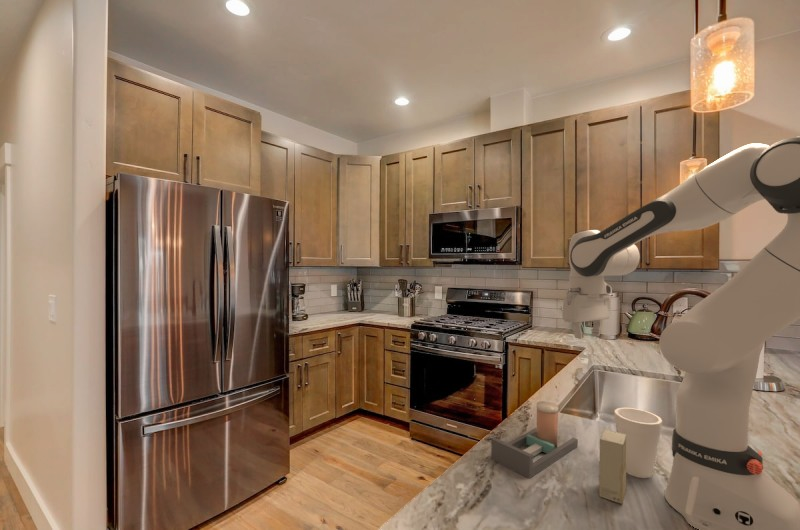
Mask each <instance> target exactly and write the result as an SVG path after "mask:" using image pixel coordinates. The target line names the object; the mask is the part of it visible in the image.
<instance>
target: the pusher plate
mask: <svg viewBox="0 0 800 530" xmlns="http://www.w3.org/2000/svg"><path fill="white" fill-rule="evenodd" d="M525 446H528V447H526V448H525V449H522V450H523V451H525V452H527V453H530V454H532V455H533V457H535V456H536V455H538V454H540V453H545V454H548V453H549V452H551V451H552V450H554V449H555V445H554V444H551V443H549V442H547V441H544V440H542V439H539V438H537V437H535V436H532V435H530V434H528V435H526V445H525Z"/></svg>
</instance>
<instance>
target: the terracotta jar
mask: <svg viewBox="0 0 800 530" xmlns="http://www.w3.org/2000/svg"><path fill="white" fill-rule="evenodd" d="M559 410H560V409H559V405H558V404H556V403H553V402H550V401H545V400H544V401H543V400H542V401H538V402H536V427H535V428H536V437H537V438H539V439H542V440H544V441H547V442H549V443H551V444H554V445H555V449H556V448H557V447H558V436H559V435H558V433H559V432H558V431H559V430H558V428H559Z"/></svg>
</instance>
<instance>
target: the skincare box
mask: <svg viewBox="0 0 800 530" xmlns="http://www.w3.org/2000/svg"><path fill="white" fill-rule="evenodd" d="M598 476H599V479H598V480H599V482H598V483H599V487H598V488H599V493H598V494H599V497H600V498H603V499H606V500H609V501H612V502H614V503H618V504H621V505H623V503H624V499H625V496H626V492H627V473H626V434H622V433H618V432H617V431H614V430H609V429H604V428H603V431H602V432H601V435H600V438H599V475H598Z"/></svg>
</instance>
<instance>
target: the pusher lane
mask: <svg viewBox="0 0 800 530" xmlns="http://www.w3.org/2000/svg"><path fill="white" fill-rule="evenodd" d="M528 434H530V435H532V436H535V437H536V427H535V428H533V429H531V430H530V431H528V432H526V433H523V434H521V435H519V436H517V437H516V438H514V439H512V440H510V441H508V442H505V441H503V440H501V439H499V438H496V437H493V438H491V453H490V454H491V457H490V458H491V460H493V462H496V463H498V464H500V465H503V466H504V467H506V468H508V469H509V470H512V471H514V472H515V473H518V474H519V475H522V476H524V477H525V478H527V479H531V478H533V477H534V476H536V475H537V474H538V473H540V472H542V471H544V469H547V468H548V467H549V466H551V465H553V464H554V463H555V462H557V461H558V460H560V459H561V458H563V457H565V456H566V455H568V454H569V453H570V452H572V451H573V450H575V449H576V448H578V442H579V441H578V440H579V439H578V438H575V437H572V438H570V439H569V440H567V441H565V442H564V443H562V444H561V445H559V446H557V448H556V449H554V450H552V451H551V452H549V453H548V454H547V453H545V455H542V456H541V457H539V458H538V459H536V460H535V461H534V456H533V455H532V454H530V453H527V452H525V451H523V450H524V449H521V448H522V447H524V446H527V445H526V435H528Z"/></svg>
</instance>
